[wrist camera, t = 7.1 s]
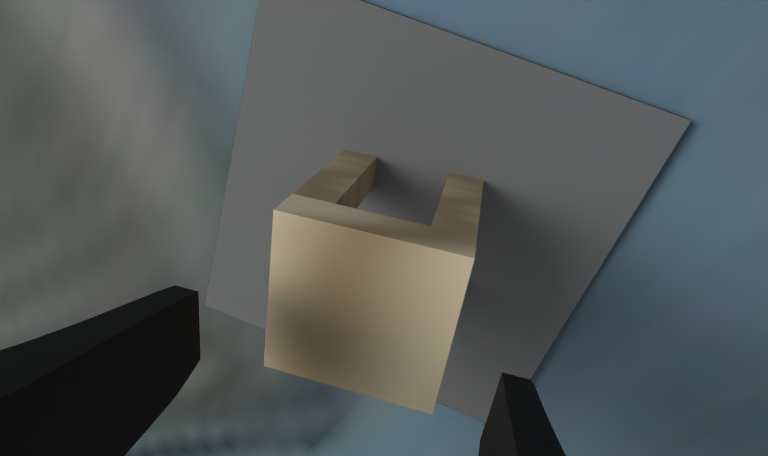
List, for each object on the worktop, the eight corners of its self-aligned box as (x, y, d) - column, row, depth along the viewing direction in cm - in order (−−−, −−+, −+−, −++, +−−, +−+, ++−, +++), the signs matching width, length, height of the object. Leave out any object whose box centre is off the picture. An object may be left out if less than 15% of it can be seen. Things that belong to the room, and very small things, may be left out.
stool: (483, 180, 16) (474, 258, 11) (452, 300, 19) (432, 414, 13) (345, 149, 17) (273, 209, 12) (330, 269, 19) (264, 365, 14)
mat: (686, 118, 15) (690, 120, 14) (499, 421, 21) (499, 428, 21) (270, -34, 16) (265, -35, 15) (209, 300, 22) (205, 304, 22)
